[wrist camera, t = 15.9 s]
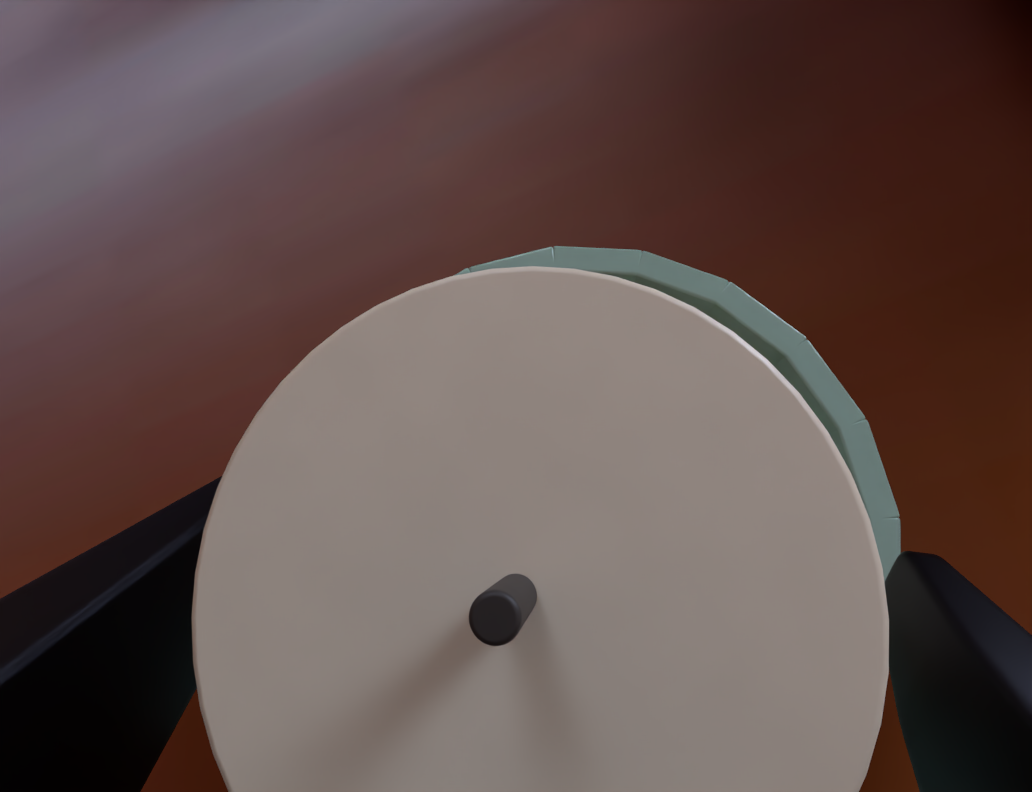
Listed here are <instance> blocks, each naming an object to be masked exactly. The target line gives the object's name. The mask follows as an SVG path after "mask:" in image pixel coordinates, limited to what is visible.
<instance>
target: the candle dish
mask: <svg viewBox="0 0 1032 792" xmlns="http://www.w3.org/2000/svg"><path fill="white" fill-rule="evenodd" d="M527 266H539V267H555V268H571V269H579V270H584V271H589V272H595V273H600V274H605V275H611V276H616V277H619V278H622V279H625V280H628V281H631V282H634V283H637V284H641V285H644V286H647V287H650V288H653V289H656V290H658V291H660V292H663V293H665V294H667V295H669V296H671V297H673V298H675V299H678V300H680V301H682V302H684V303H686V304H688V305H691V306H693V307H695V308H696V309H698V310H700V311H701V312H703V313H704V314H706V315H708V316H709V317H711V318H712V319H714V320H716V321H717V322H719V323H720V324H722V325H724V326H725V327H727V328H728V329H730V330H732V331H733V332H734V333H736V334H737V335H738V336H739V337H740V338H742V339H743V340H744V341H745V342H747V343H748V344H749V345H750V346H751V347H753V348H754V349H755V350H756V351H758V352H759V353H760V354H761V355H762V356H764V357H765V358H766V359H767V360H768V361H769V362H770V363H771V364H772V365H773V366H774V367H775V368H776V369H777V370H778V371H779V372H780V373H781V374H782V375H783V376H784V377H785V378H786V379H787V381H788V382H789V383H790V384H791V385H792V386H793V387H794V388H795V389H796V390H797V391H798V392H799V393H800V394H801V396H802V397H803V399H804V400H805V401H806V403H807V404H808V405H809V407H810V408H811V409H812V411H813V412H814V413H815V415H816V416H817V417H818V419H819V420H820V422H821V423H822V424H823V426H824V427H825V428H826V430H827V431H828V433H829V434H830V436H831V438H832V440H833V442H834V443H835V445H836V447H837V449H838V451H839V452H840V454H841V456H842V458H843V459H844V461H845V463H846V465H847V467H848V468H849V470H850V472H851V474H852V476H853V479H854V481H855V484H856V486H857V489H858V491H859V494H860V496H861V499H862V501H863V504H864V506H865V509H866V511H867V514H868V516H869V519H870V522H871V526H872V530H873V533H874V537H875V541H876V545H877V549H878V553H879V556H880V560H881V564H882V568H883V575H884V582H885V580H886V578H887V576H888V574H889V572H890V570H891V568H892V566H893V564H894V562H895V560H896V559H897V557H898V556H899V554H901V553H900V519H899V518H898V517H899V512H898V509H897V506H896V503H895V500H894V497H893V494H892V491H891V488H890V485H889V482H888V479H887V476H886V473H885V470H884V467H883V465H882V462H881V459H880V456H879V453H878V450H877V447H876V444H875V441H874V438H873V435H872V432H871V429H870V426H869V423H868V421H867V420H864V419H865V416H864V415H863V413H862V412H861V411H860V409H859V408H858V406H857V405H856V404H855V402H854V401H853V400H852V398H851V397H850V396H849V394H848V393H847V392H846V390H845V389H844V387H843V386H842V385H841V383H840V382H839V381H838V379H837V378H836V377H835V375H834V374H833V373H832V371H831V370H830V368H829V367H828V366H827V364H826V363H825V362H824V360H823V359H822V358H821V356H820V355H819V354H818V352H817V351H816V349H815V348H814V347H813V345H812V344H811V343H810V341H809V340H806V337H805V336H804V335H803V334H801V333H800V332H799V331H797V330H796V329H795V328H793V327H792V326H791V325H789V324H788V323H786V322H785V321H784V320H782V319H781V318H780V317H778V316H777V315H776V314H774V313H773V312H772V311H770V310H769V309H767V308H766V307H765V306H763V305H762V304H761V303H759V302H758V301H757V300H755V299H754V298H753V297H751V296H750V295H748V294H747V293H746V292H744V291H743V290H742V289H740V288H739V287H738V286H736V285H735V284H734V283H732V282H729V283H728V281H727V280H726V279H723V278H720V277H717V276H714V275H711V274H709V273H706V272H703V271H700V270H697V269H694V268H692V267H689V266H686V265H683V264H680V263H677V262H675V261H672V260H669V259H666V258H663V257H660V256H658V255H655V254H652V253H649V252H646V251H643V252H642V251H641V250H629V249H607V248H585V247H563V246H555V247H554V248H552V247H547V248H543V249H539V250H536V251H532V252H528V253H524V254H520V255H516V256H512V257H508V258H504V259H500V260H496V261H492V262H488V263H484V264H480V265H476V266H472V267H470V268H469V269H468V268H466V269H464V270H463V271H461V272H459V273H458V274H456V275H461V274H466V273H472V272H477V271H482V270H487V269H495V268H511V267H527ZM456 275H454V276H456Z"/></svg>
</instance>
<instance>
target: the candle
mask: <svg viewBox="0 0 1032 792" xmlns="http://www.w3.org/2000/svg"><path fill="white" fill-rule="evenodd" d="M191 618H192V646H193V665H194V672H195V678H196V685H197V691H198V698H199V704H200V710H201V713H202V717H203V720H204V724H205V728H206V731H207V735H208V738H209V742H210V745H211V749H212V753H213V755H214V758H215V760H216V763H217V765H218V767H219V770H220V772H221V775H222V777H223V779H224V782H225V784H226V787H227V789H228V791H229V792H859V790H860V788H861V785H862V783H863V781H864V779H865V777H866V774H867V771H868V768H869V764H870V761H871V757H872V754H873V750H874V747H875V743H876V740H877V736H878V733H879V730H880V726H881V722H882V715H883V708H884V701H885V694H886V687H887V680H888V673H889V615H888V607H887V599H886V591H885V583H884V575H883V568H882V564H881V560H880V556H879V553H878V549H877V545H876V541H875V537H874V533H873V530H872V526H871V522H870V519H869V516H868V514H867V511H866V509H865V506H864V504H863V501H862V499H861V496H860V494H859V491H858V489H857V486H856V484H855V481H854V479H853V476H852V474H851V472H850V470H849V468H848V467H847V465H846V463H845V461H844V459H843V458H842V456H841V454H840V452H839V451H838V449H837V447H836V445H835V443H834V442H833V440H832V438H831V436H830V434H829V433H828V431H827V430H826V428H825V427H824V426H823V424H822V423H821V422H820V420H819V419H818V417H817V416H816V415H815V413H814V412H813V411H812V409H811V408H810V407H809V405H808V404H807V403H806V401H805V400H804V399H803V397H802V396H801V394H800V393H799V392H798V391H797V390H796V389H795V388H794V387H793V386H792V385H791V384H790V383H789V382H788V381H787V379H786V378H785V377H784V376H783V375H782V374H781V373H780V372H779V371H778V370H777V369H776V368H775V367H774V366H773V365H772V364H771V363H770V362H769V361H768V360H767V359H766V358H765V357H764V356H762V355H761V354H760V353H759V352H758V351H756V350H755V349H754V348H753V347H751V346H750V345H749V344H748V343H747V342H745V341H744V340H743V339H742V338H740V337H739V336H738V335H737V334H736V333H734V332H733V331H732V330H730V329H728V328H727V327H725V326H724V325H722V324H720V323H719V322H717V321H716V320H714V319H712V318H711V317H709V316H708V315H706V314H704V313H703V312H701V311H700V310H698V309H696V308H695V307H693V306H691V305H688V304H686V303H684V302H682V301H680V300H678V299H675V298H673V297H671V296H669V295H667V294H665V293H663V292H660V291H658V290H656V289H653V288H650V287H647V286H644V285H641V284H637V283H634V282H631V281H628V280H625V279H622V278H619V277H616V276H611V275H605V274H600V273H595V272H589V271H584V270H579V269H571V268H555V267H539V266H527V267H511V268H495V269H487V270H482V271H477V272H472V273H466V274H461V275H456V276H451V277H448V278H445V279H442V280H438V281H435V282H432V283H429V284H426V285H423V286H420V287H417V288H413V289H411V290H409V291H407V292H405V293H402V294H400V295H398V296H396V297H394V298H392V299H389V300H387V301H385V302H383V303H381V304H379V305H377V306H375V307H373V308H372V309H370V310H368V311H367V312H365V313H364V314H362V315H360V316H359V317H357V318H355V319H354V320H352V321H351V322H349V323H347V324H346V325H344V326H342V327H341V328H340V329H339V330H337V331H336V332H335V333H334V334H332V335H331V336H330V337H329V338H327V339H326V340H325V341H324V342H322V343H321V344H320V345H319V346H317V347H316V348H315V349H314V350H312V351H311V352H310V353H309V354H308V355H307V356H306V357H305V358H304V359H303V360H302V361H301V362H300V363H299V364H298V365H297V366H296V367H295V368H294V369H293V370H292V371H291V372H290V373H289V374H288V375H287V376H286V377H285V378H284V379H283V380H282V381H281V383H280V384H279V385H278V387H277V388H276V389H275V390H274V392H273V393H272V394H271V396H270V397H269V398H268V399H267V401H266V402H265V403H264V405H263V406H262V407H261V408H260V410H259V411H258V412H257V414H256V415H255V417H254V418H253V420H252V422H251V423H250V425H249V427H248V428H247V430H246V432H245V433H244V435H243V437H242V438H241V440H240V442H239V443H238V445H237V447H236V448H235V450H234V452H233V454H232V456H231V459H230V461H229V463H228V465H227V467H226V470H225V472H224V474H223V476H222V478H221V481H220V483H219V485H218V487H217V490H216V493H215V496H214V499H213V502H212V505H211V508H210V511H209V515H208V518H207V521H206V524H205V527H204V530H203V535H202V540H201V545H200V550H199V555H198V560H197V565H196V570H195V580H194V592H193V604H192V617H191Z"/></svg>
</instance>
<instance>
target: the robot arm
mask: <svg viewBox="0 0 1032 792" xmlns="http://www.w3.org/2000/svg"><path fill="white" fill-rule="evenodd" d="M221 478H222V476H221V477H219V478H218V479H216V480H214V481H212V482H210V483H209V484H207V485H205V486H203V487H201V488H200V489H198V490H196V491H194V492H192V493H190V494H189V495H187V496H185V497H183V498H181V499H180V500H178V501H176V502H174V503H172V504H171V505H169V506H167V507H165V508H163V509H162V510H160V511H158V512H156V513H154V514H153V515H151V516H149V517H147V518H145V519H144V520H142V521H140V522H138V523H136V524H135V525H133V526H131V527H129V528H127V529H126V530H124V531H122V532H120V533H118V534H117V535H115V536H113V537H111V538H109V539H108V540H106V541H104V542H102V543H100V544H99V545H97V546H95V547H93V548H91V549H89V550H88V551H86V552H84V553H82V554H80V555H79V556H77V557H75V558H73V559H71V560H70V561H68V562H66V563H64V564H62V565H61V566H59V567H57V568H55V569H53V570H52V571H50V572H48V573H46V574H44V575H43V576H41V577H39V578H37V579H35V580H33V581H32V582H30V583H28V584H26V585H24V586H23V587H21V588H19V589H17V590H15V591H14V592H12V593H10V594H8V595H6V596H5V597H3V598H1V599H0V792H140V791H141V789H142V788H143V786H144V784H145V782H146V780H147V778H148V777H149V775H150V773H151V771H152V769H153V767H154V765H155V764H156V762H157V760H158V758H159V756H160V754H161V753H162V751H163V749H164V747H165V745H166V743H167V742H168V740H169V738H170V736H171V734H172V732H173V731H174V729H175V727H176V725H177V723H178V721H179V720H180V718H181V716H182V714H183V712H184V710H185V709H186V707H187V705H188V703H189V701H190V699H191V697H192V696H193V694H194V692H195V690H196V688H197V685H196V678H195V672H194V665H193V646H192V618H191V617H192V604H193V592H194V580H195V570H196V565H197V560H198V555H199V550H200V545H201V540H202V535H203V530H204V527H205V524H206V521H207V518H208V515H209V511H210V508H211V505H212V502H213V499H214V496H215V493H216V490H217V487H218V485H219V483H220V481H221ZM884 583H885V591H886V599H887V607H888V615H889V669H890V674H891V680H892V685H893V691H894V696H895V702H896V707H897V711H898V716H899V721H900V725H901V728H902V732H903V736H904V739H905V743H906V746H907V750H908V753H909V756H910V760H911V763H912V766H913V770H914V773H915V776H916V780H917V783H918V787H919V790H920V792H1032V635H1031V634H1030V633H1028V632H1027V631H1026V630H1025V629H1024V628H1023V627H1021V626H1020V625H1019V624H1018V623H1017V622H1016V621H1015V620H1013V619H1012V618H1011V617H1010V616H1009V615H1008V614H1006V613H1005V612H1004V611H1003V610H1002V609H1001V608H999V607H998V606H997V605H996V604H995V603H994V602H993V601H991V600H990V599H989V598H988V597H987V596H986V595H984V594H983V593H982V592H981V591H980V590H979V589H978V588H976V587H975V586H974V585H973V584H972V583H971V582H969V581H968V580H967V579H966V578H965V577H964V576H963V575H961V574H960V573H959V572H958V571H957V570H956V569H954V568H953V567H952V566H951V565H950V564H949V563H947V562H946V561H945V560H944V559H942V558H941V557H939V556H937V555H934V554H928V553H920V552H912V551H905V552H902V553H901V554H899V556H898V557H897V559H896V560H895V562H894V564H893V566H892V568H891V570H890V572H889V574H888V576H887V578H886V580H885V582H884Z"/></svg>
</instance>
